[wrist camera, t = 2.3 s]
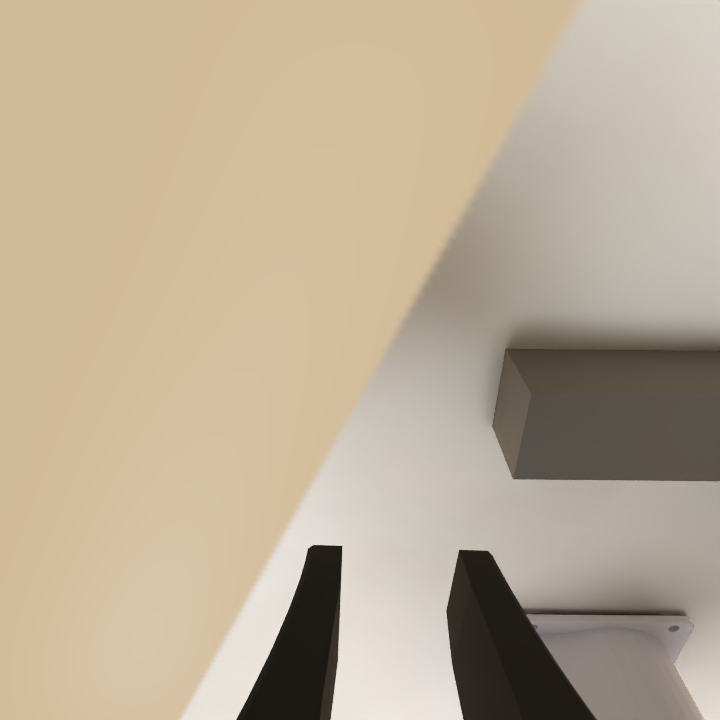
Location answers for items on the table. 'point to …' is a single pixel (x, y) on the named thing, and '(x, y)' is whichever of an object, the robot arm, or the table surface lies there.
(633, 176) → the table surface
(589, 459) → the grey rectangular bar
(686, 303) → the table surface
